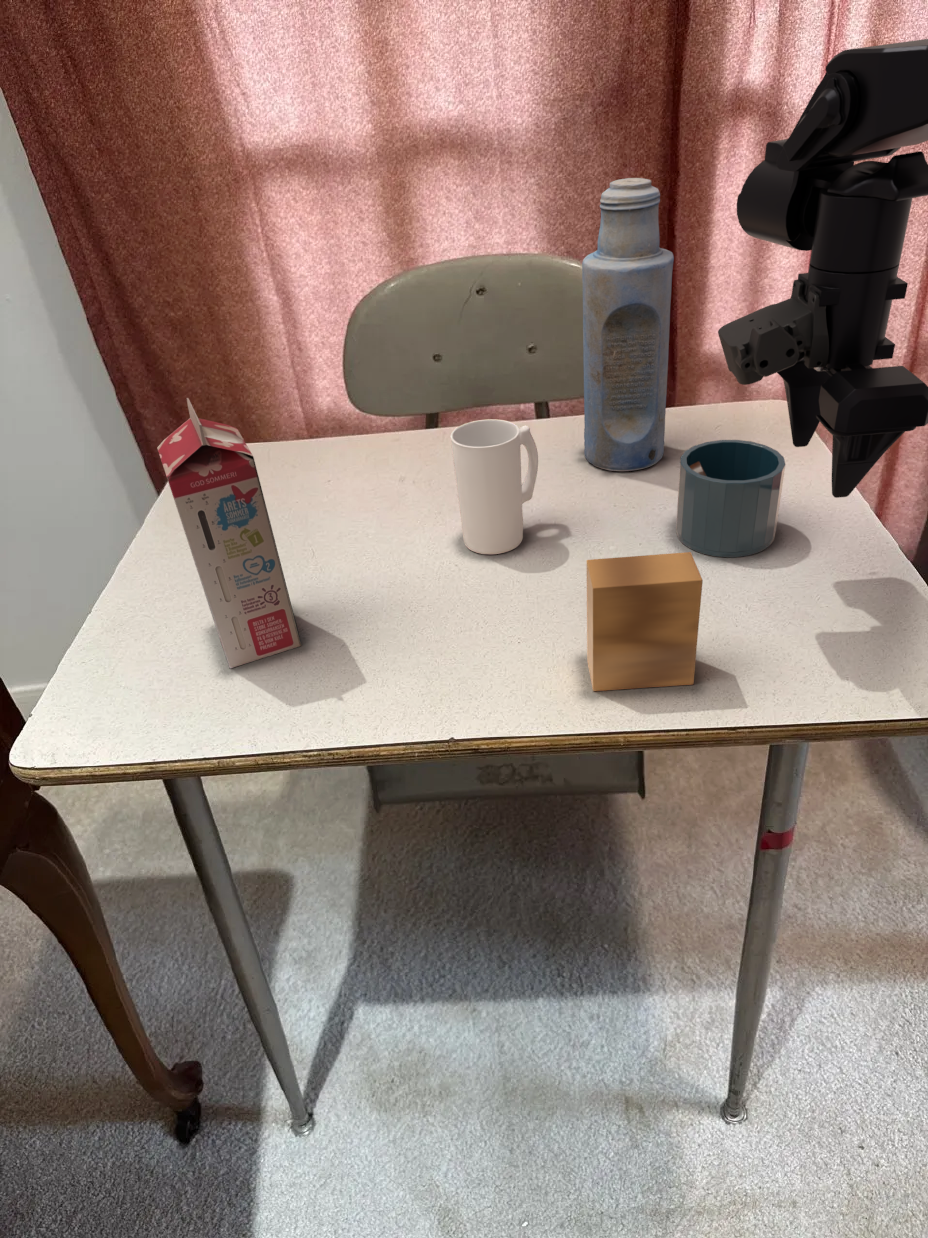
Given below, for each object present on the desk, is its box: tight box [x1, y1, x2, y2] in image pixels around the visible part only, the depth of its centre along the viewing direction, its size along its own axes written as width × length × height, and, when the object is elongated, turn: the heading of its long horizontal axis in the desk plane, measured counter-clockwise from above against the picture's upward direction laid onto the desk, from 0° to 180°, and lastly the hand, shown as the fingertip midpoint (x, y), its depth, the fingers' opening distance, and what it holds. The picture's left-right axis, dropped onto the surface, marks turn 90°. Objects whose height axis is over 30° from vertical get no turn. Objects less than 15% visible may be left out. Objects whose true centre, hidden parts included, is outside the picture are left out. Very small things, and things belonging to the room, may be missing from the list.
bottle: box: [581, 177, 675, 472], centre depth 93 cm, size 10×10×30 cm
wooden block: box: [586, 551, 703, 692], centre depth 66 cm, size 8×4×10 cm, turn 90°
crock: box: [675, 439, 786, 558], centre depth 83 cm, size 10×10×8 cm
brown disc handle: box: [689, 461, 706, 476], centre depth 83 cm, size 7×3×1 cm
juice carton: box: [156, 397, 303, 669], centre depth 71 cm, size 7×7×22 cm
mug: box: [449, 418, 539, 555], centre depth 85 cm, size 10×7×12 cm, turn 129°
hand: (818, 469), depth 67 cm, fingers open, 9 cm apart
